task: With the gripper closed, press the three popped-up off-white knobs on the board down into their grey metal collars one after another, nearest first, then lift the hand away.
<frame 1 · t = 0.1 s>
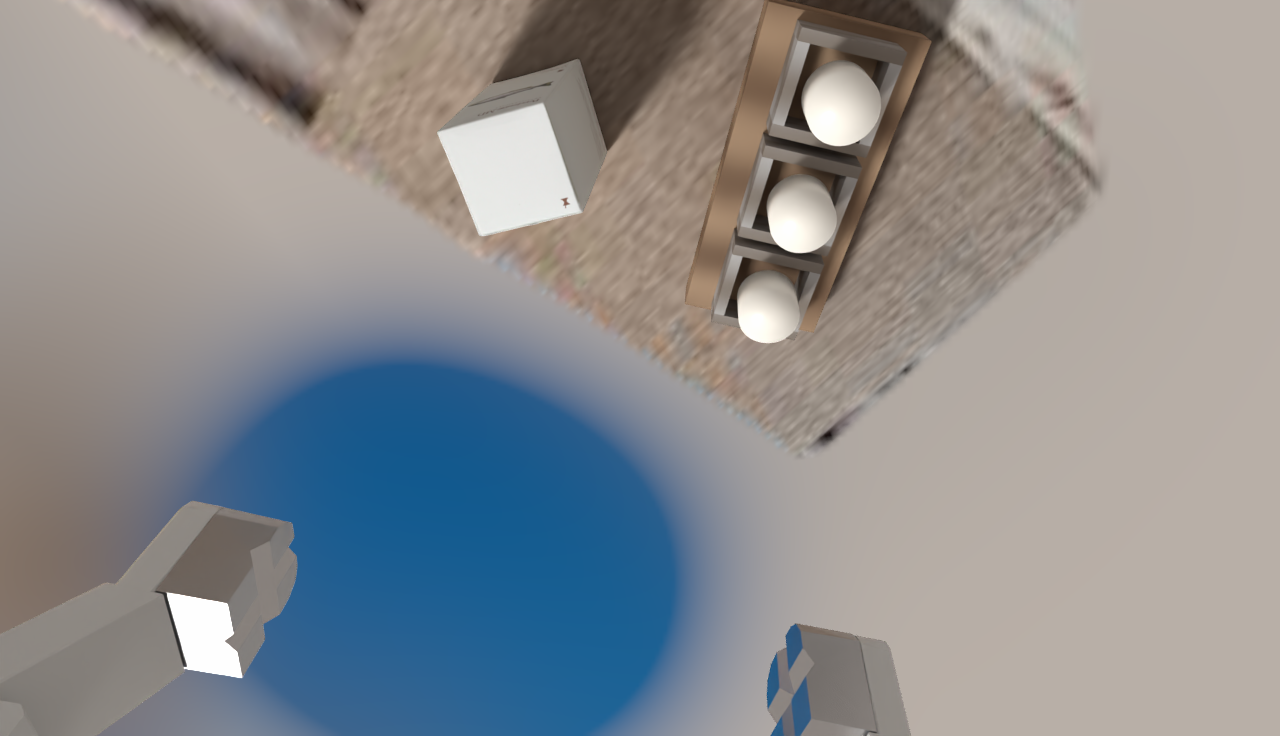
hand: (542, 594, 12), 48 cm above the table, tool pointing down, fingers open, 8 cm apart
knob mount: (790, 174, 56), on the table
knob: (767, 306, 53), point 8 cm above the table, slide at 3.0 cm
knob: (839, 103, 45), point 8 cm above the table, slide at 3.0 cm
knob middle: (800, 213, 49), point 8 cm above the table, slide at 3.0 cm
supplement box: (550, 117, 55), on the table
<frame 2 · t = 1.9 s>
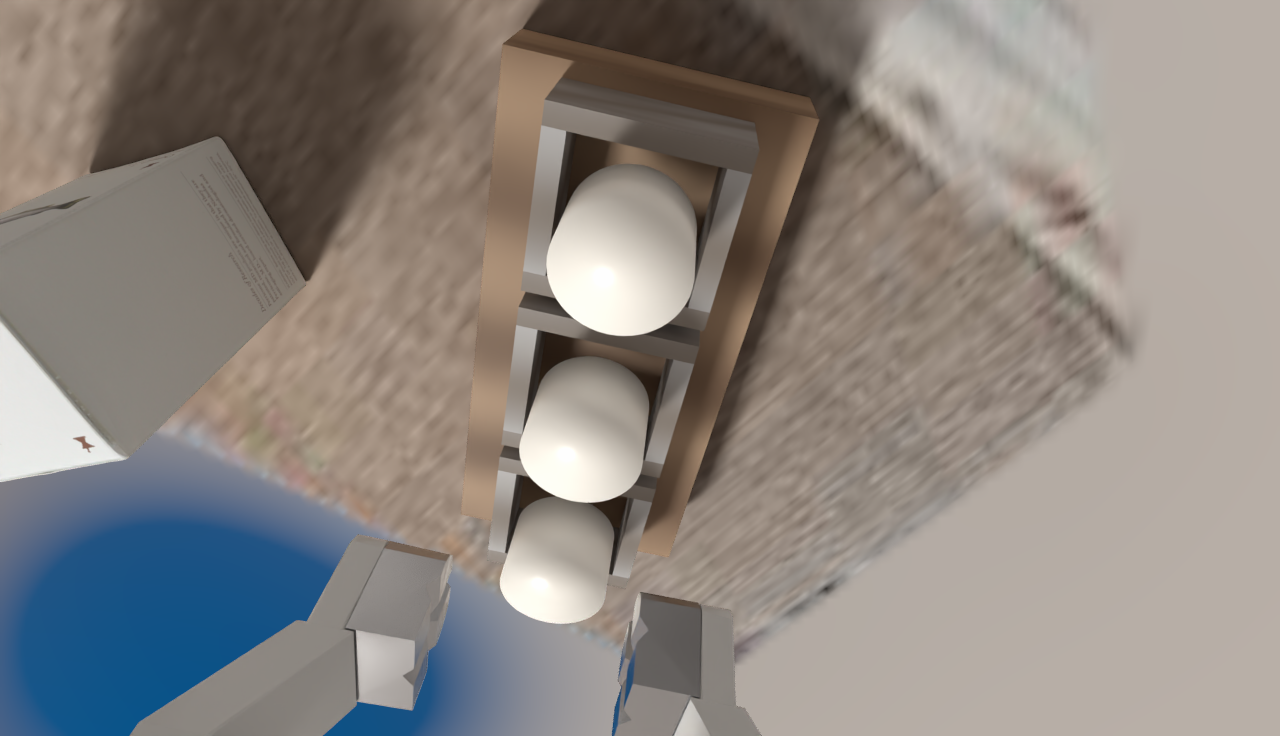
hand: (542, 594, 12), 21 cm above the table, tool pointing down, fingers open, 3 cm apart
knob mount: (611, 321, 33), on the table
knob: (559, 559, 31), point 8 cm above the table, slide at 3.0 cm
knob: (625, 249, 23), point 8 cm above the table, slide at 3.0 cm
knob middle: (587, 429, 27), point 8 cm above the table, slide at 3.0 cm
supplement box: (203, 228, 33), on the table
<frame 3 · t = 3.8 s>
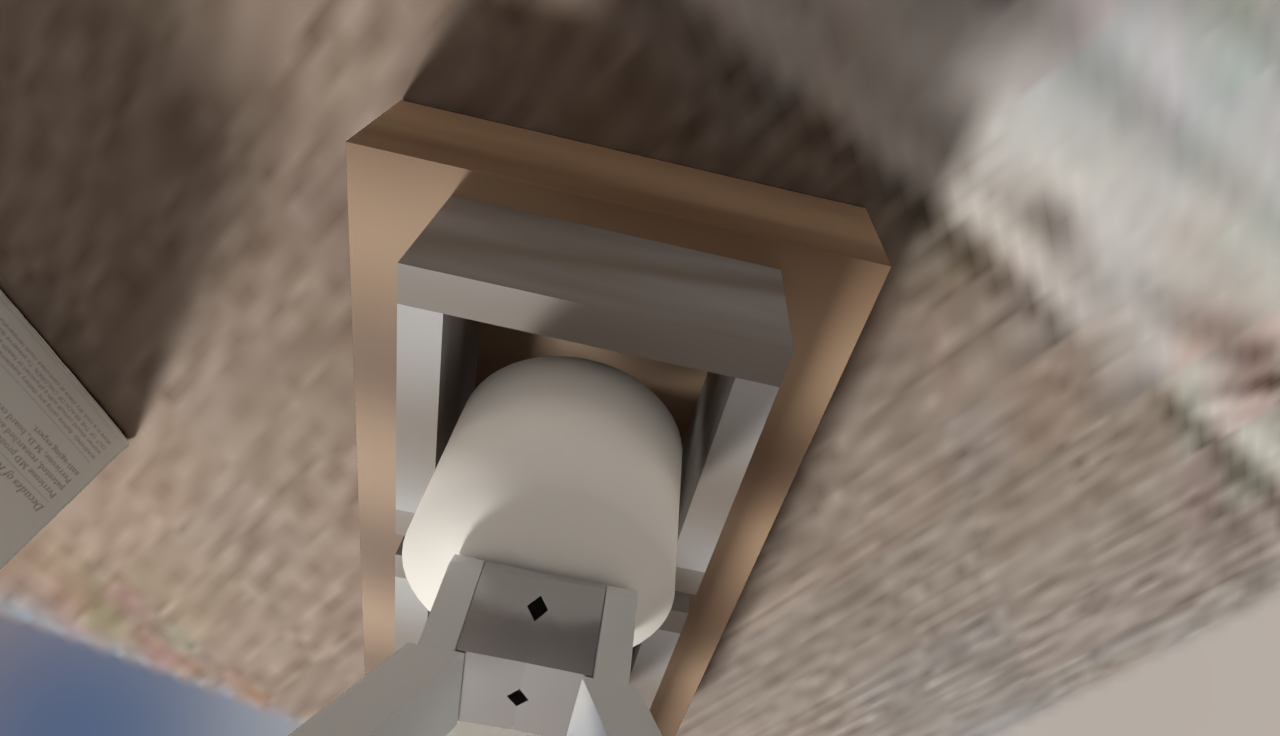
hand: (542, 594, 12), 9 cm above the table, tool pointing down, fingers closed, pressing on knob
knob mount: (566, 497, 23), on the table
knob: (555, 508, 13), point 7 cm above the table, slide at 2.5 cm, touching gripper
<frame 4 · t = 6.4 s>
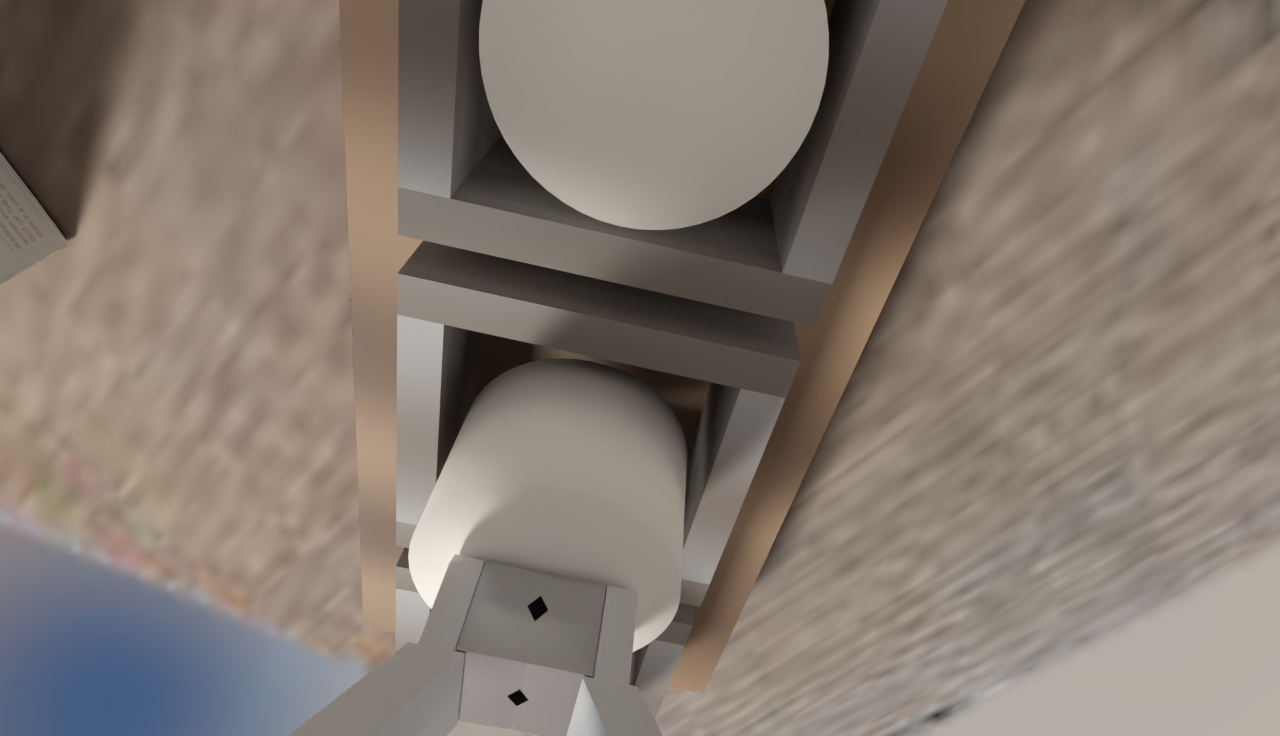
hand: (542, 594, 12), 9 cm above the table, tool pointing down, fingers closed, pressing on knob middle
knob mount: (609, 308, 19), on the table
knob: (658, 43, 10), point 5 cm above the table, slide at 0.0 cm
knob middle: (561, 510, 13), point 7 cm above the table, slide at 2.3 cm, touching gripper
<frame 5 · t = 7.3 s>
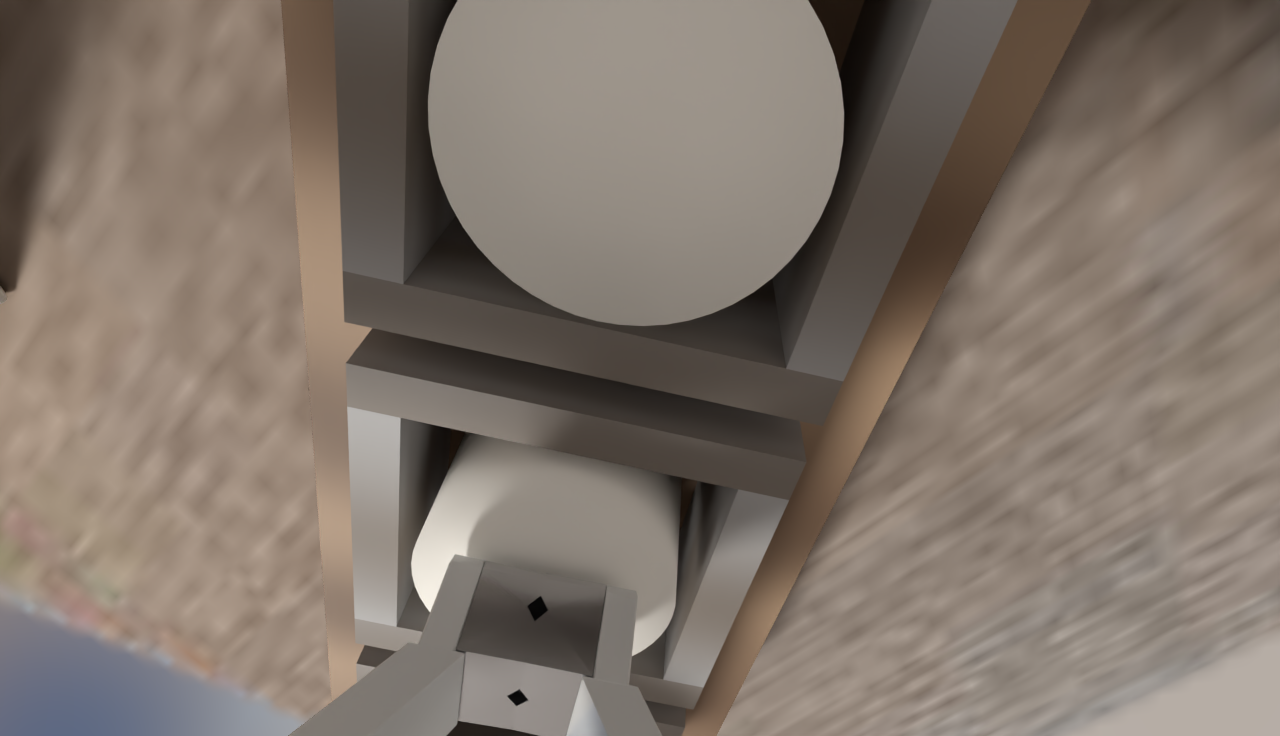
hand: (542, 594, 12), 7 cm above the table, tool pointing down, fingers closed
knob mount: (595, 369, 17), on the table
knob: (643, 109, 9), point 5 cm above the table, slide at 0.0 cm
knob middle: (559, 519, 13), point 5 cm above the table, slide at 0.0 cm
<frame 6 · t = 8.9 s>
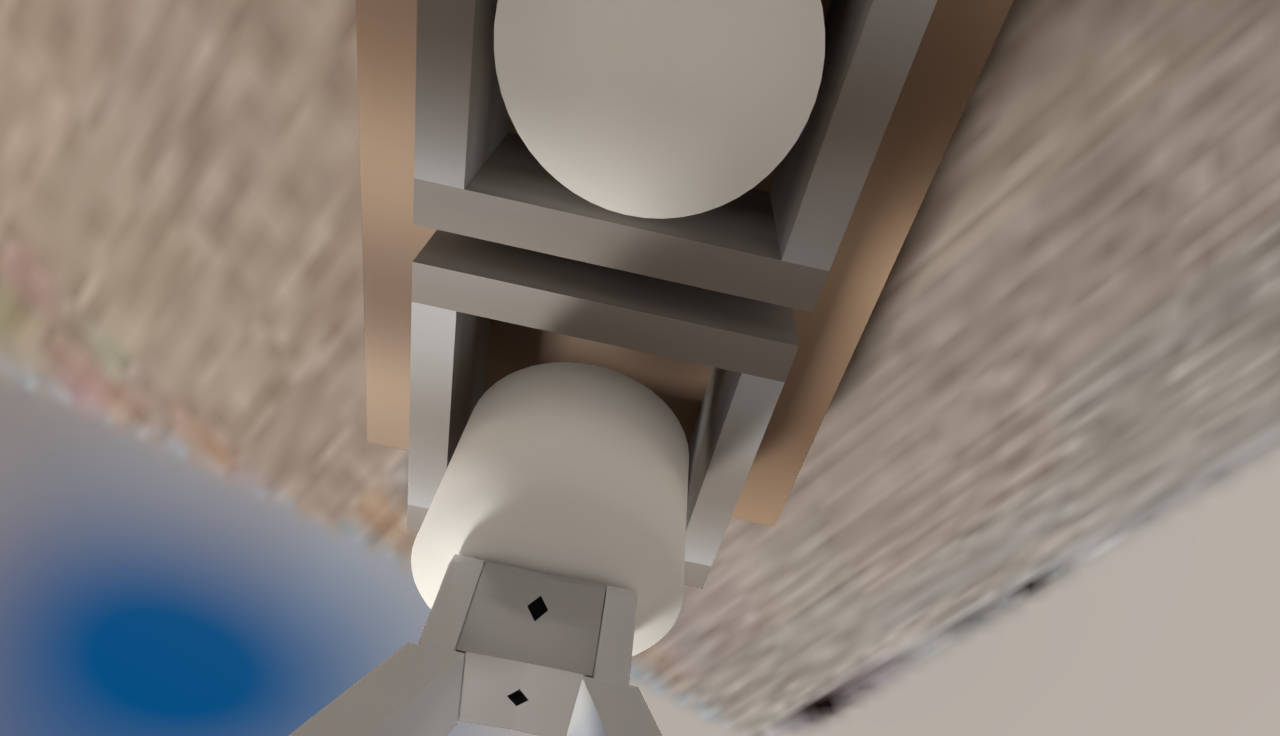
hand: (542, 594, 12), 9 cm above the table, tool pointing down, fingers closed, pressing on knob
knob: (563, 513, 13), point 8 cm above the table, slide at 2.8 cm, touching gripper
knob middle: (663, 40, 11), point 5 cm above the table, slide at 0.0 cm
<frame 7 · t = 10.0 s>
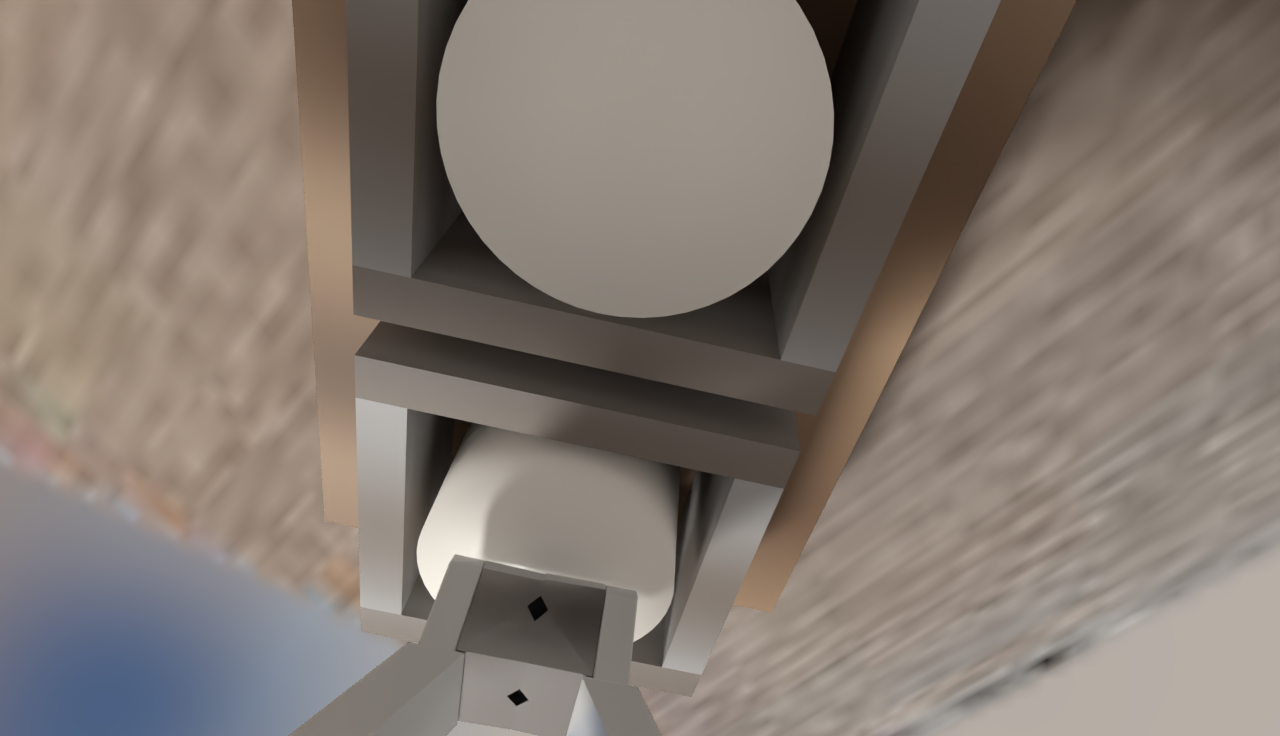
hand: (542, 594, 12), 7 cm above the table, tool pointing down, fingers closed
knob mount: (663, 41, 13), on the table
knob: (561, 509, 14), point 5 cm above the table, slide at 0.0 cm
knob middle: (642, 109, 9), point 5 cm above the table, slide at 0.0 cm
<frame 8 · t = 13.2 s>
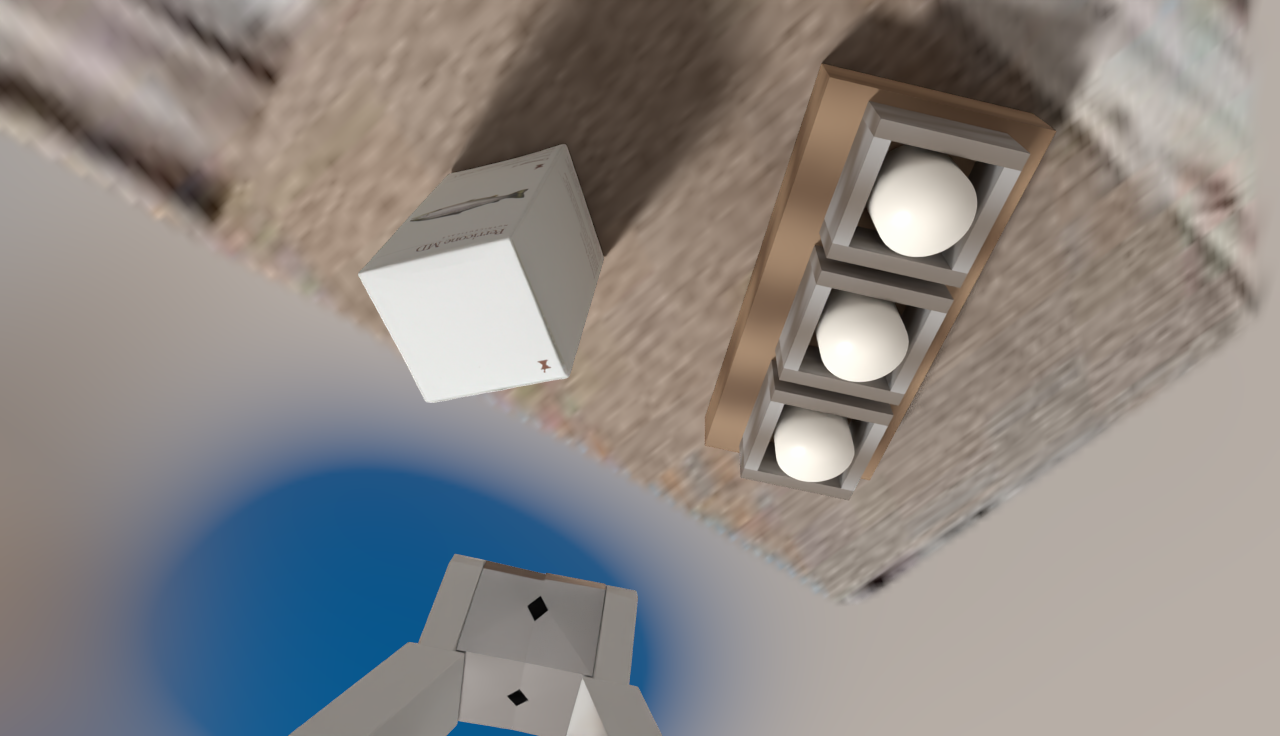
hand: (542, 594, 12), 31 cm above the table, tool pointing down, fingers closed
knob mount: (844, 287, 42), on the table
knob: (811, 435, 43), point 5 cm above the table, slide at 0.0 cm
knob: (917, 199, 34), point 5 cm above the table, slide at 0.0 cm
knob middle: (858, 330, 38), point 5 cm above the table, slide at 0.0 cm
supplement box: (528, 214, 42), on the table
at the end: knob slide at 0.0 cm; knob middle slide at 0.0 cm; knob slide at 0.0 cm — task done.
